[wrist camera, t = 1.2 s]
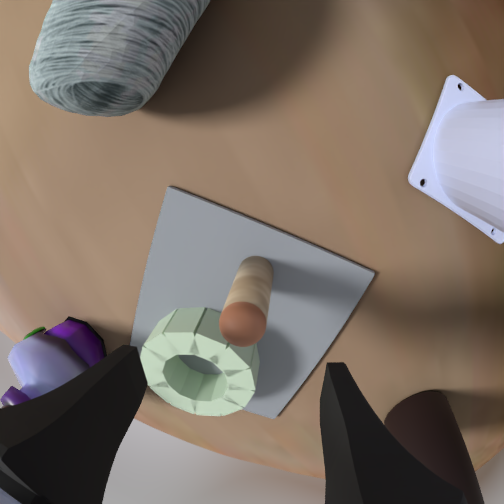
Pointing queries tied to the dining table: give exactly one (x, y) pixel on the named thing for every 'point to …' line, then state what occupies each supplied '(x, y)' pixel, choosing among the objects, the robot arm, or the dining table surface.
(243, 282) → the wooden dowel
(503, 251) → the dining table surface
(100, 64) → the yarn skein
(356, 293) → the mat
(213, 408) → the bead
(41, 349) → the potion bottle
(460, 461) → the vinegar
